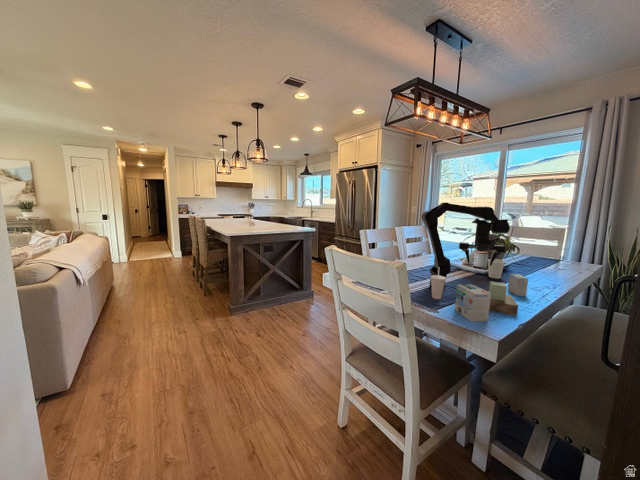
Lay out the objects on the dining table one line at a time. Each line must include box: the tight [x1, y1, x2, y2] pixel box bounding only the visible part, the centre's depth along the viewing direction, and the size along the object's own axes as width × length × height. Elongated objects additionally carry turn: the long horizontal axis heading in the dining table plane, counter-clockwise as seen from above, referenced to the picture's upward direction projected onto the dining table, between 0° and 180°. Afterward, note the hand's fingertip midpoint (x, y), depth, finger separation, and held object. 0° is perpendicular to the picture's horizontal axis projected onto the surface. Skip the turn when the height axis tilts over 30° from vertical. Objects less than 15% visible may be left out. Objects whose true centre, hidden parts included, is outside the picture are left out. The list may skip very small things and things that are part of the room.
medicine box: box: [507, 273, 529, 297], centre depth 124 cm, size 8×4×9 cm, turn 168°
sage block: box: [488, 281, 508, 301], centre depth 106 cm, size 5×5×6 cm
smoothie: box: [430, 267, 447, 300], centre depth 116 cm, size 6×6×14 cm
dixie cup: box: [487, 258, 506, 280], centre depth 151 cm, size 8×8×10 cm
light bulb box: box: [454, 283, 491, 322], centre depth 98 cm, size 11×7×11 cm, turn 5°
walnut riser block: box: [489, 294, 519, 316], centre depth 107 cm, size 12×12×4 cm
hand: (479, 264), depth 126 cm, fingers open, 9 cm apart
